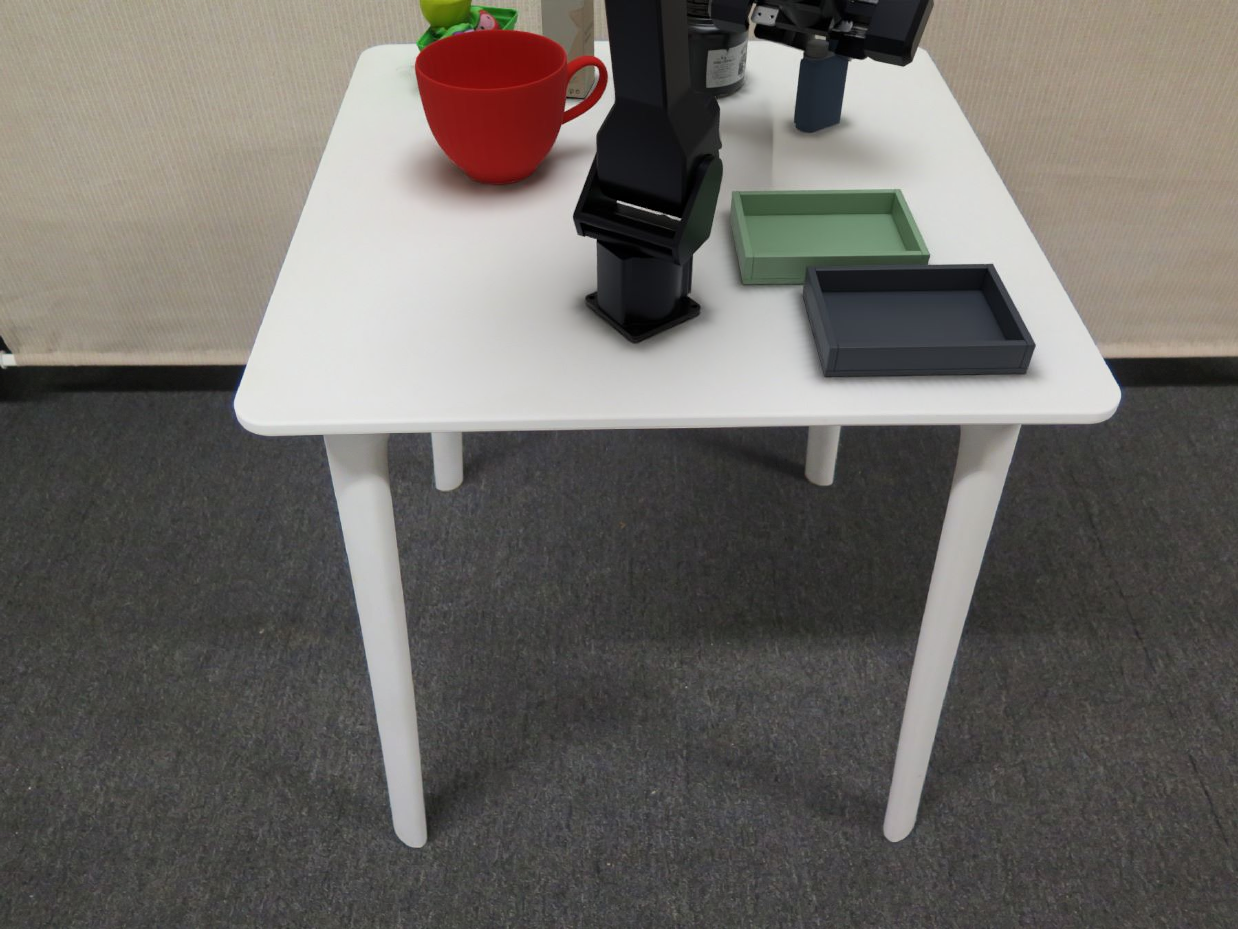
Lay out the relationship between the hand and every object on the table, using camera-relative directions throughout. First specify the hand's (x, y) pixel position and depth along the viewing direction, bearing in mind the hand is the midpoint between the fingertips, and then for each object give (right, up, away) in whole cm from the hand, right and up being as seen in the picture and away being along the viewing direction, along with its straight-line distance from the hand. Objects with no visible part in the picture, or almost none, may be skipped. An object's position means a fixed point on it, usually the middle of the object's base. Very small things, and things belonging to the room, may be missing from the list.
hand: (832, 52), depth 95 cm
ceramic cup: (-29, -11, -2) cm, 31 cm away
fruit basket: (-36, +3, +13) cm, 38 cm away
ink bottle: (-11, +1, +11) cm, 16 cm away
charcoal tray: (+1, -29, -21) cm, 36 cm away
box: (-25, 0, +10) cm, 27 cm away
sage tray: (-3, -21, -13) cm, 25 cm away
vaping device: (-1, -6, +4) cm, 7 cm away
